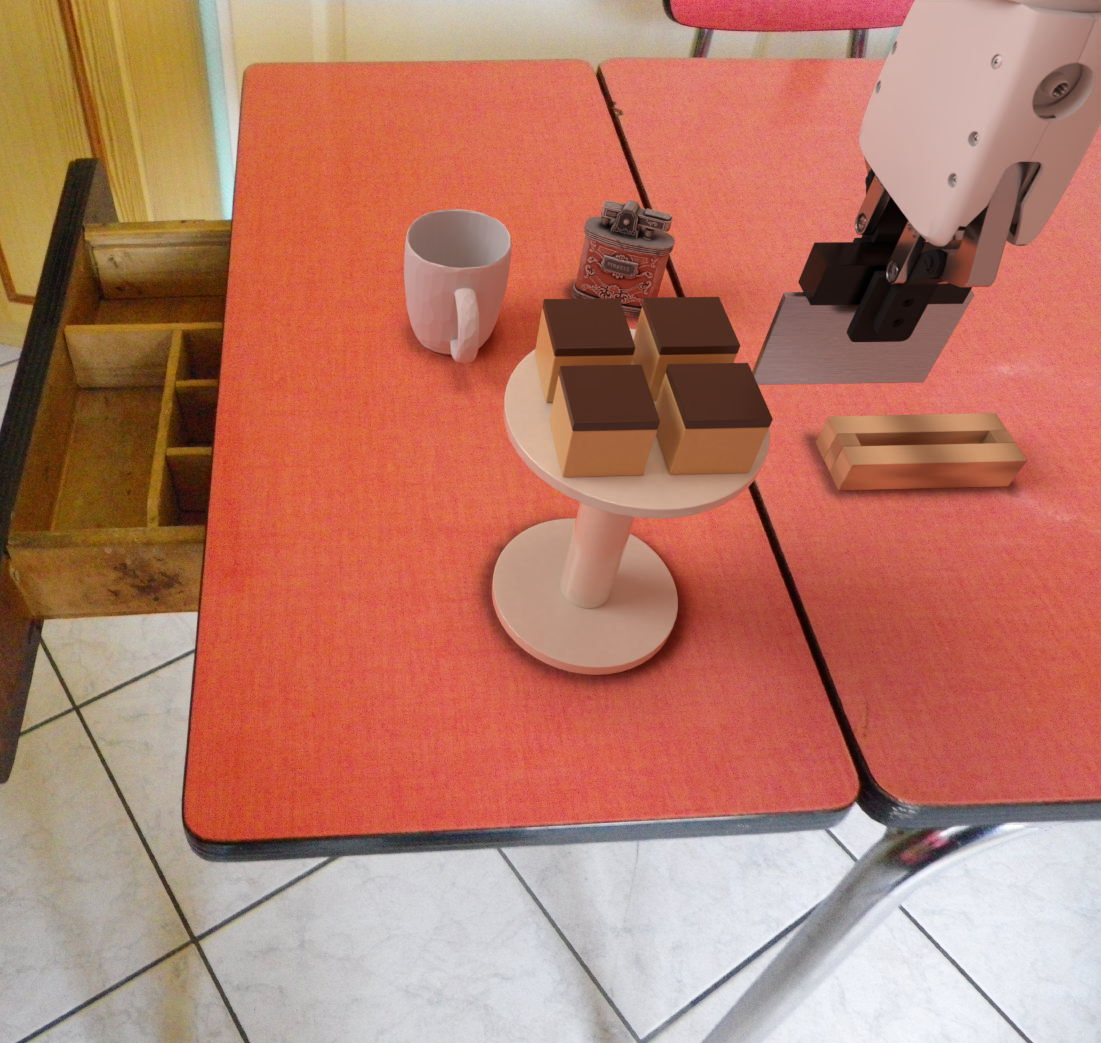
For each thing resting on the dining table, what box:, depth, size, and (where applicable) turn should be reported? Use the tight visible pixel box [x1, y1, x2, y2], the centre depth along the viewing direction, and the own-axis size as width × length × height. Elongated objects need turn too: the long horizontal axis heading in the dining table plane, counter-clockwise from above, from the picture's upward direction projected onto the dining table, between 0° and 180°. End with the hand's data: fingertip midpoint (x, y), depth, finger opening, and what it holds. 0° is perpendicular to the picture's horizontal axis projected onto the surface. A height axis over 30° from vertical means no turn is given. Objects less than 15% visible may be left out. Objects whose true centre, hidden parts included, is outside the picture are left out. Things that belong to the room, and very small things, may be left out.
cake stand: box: [491, 328, 771, 676], centre depth 61 cm, size 15×15×18 cm
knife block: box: [815, 412, 1028, 491], centre depth 76 cm, size 14×5×3 cm, turn 93°
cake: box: [534, 296, 774, 477], centre depth 53 cm, size 10×10×4 cm
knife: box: [751, 241, 975, 386], centre depth 50 cm, size 10×2×8 cm, turn 93°
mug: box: [403, 208, 513, 364], centre depth 82 cm, size 13×9×10 cm
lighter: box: [571, 200, 676, 318], centre depth 87 cm, size 8×3×10 cm, turn 67°
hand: (867, 319), depth 50 cm, fingers closed on knife, 2 cm apart
